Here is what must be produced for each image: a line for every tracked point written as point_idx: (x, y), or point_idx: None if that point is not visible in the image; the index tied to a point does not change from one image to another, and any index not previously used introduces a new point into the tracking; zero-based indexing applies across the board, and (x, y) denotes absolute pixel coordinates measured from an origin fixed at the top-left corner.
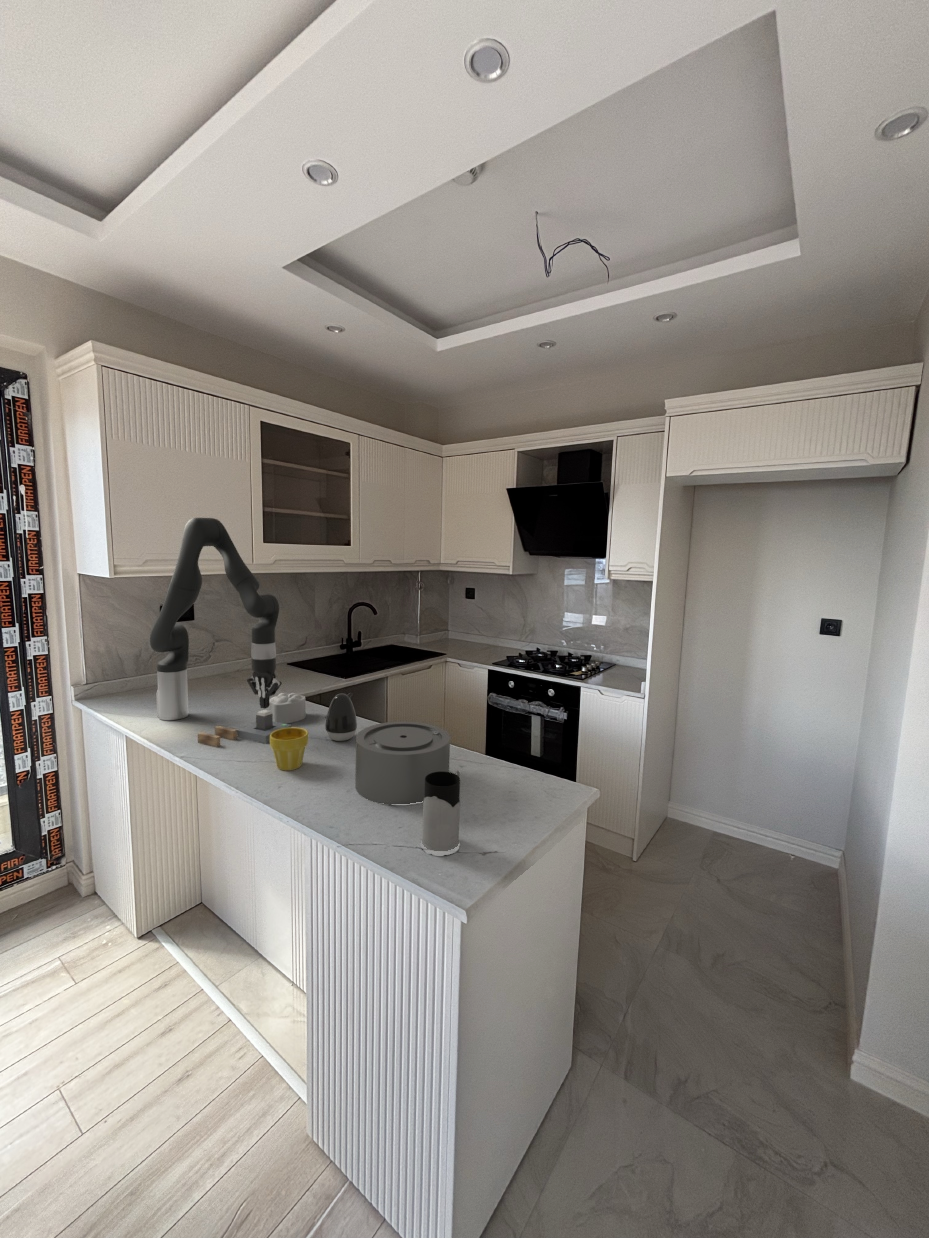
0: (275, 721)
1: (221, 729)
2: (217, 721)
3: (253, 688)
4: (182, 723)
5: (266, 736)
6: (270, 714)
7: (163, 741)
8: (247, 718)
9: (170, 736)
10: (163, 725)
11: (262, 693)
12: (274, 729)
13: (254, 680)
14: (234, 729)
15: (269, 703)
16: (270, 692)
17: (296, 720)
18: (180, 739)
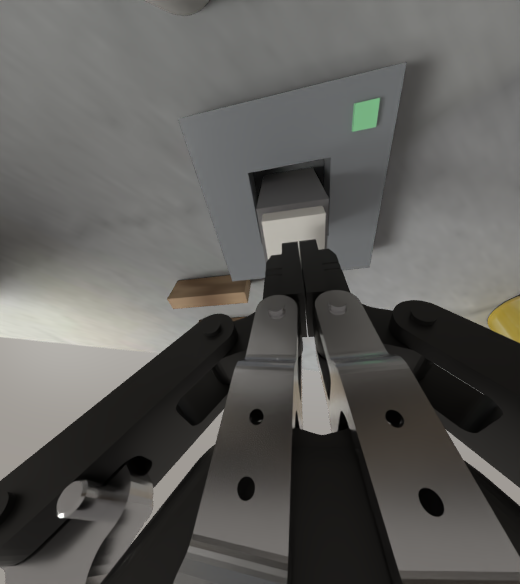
0: (182, 10)
1: (200, 305)
2: (26, 211)
3: (203, 414)
4: (21, 281)
5: (368, 262)
6: (326, 215)
7: (151, 347)
8: (7, 82)
9: (126, 332)
10: (28, 308)
11: (322, 375)
12: (353, 198)
13: (135, 528)
14: (235, 293)
15: (337, 259)
16: (456, 401)
17: None
18: (158, 332)
